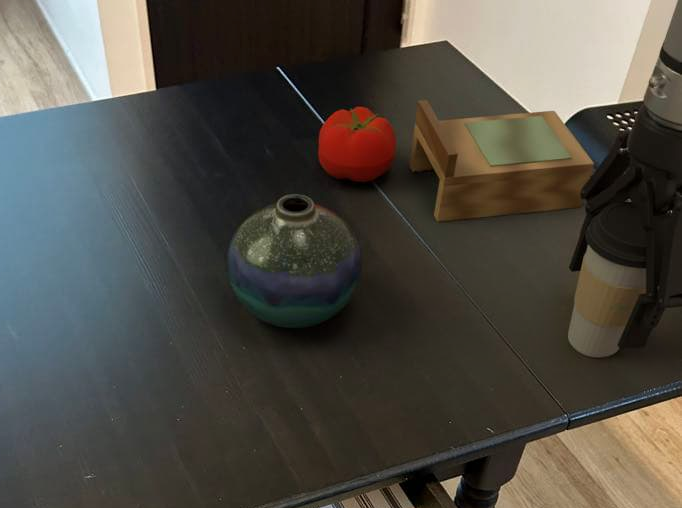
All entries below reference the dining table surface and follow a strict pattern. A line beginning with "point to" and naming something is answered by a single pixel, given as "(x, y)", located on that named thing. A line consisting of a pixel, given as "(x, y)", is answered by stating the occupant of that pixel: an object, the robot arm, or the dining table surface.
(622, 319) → the coffee cup
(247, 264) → the vase
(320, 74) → the dining table surface
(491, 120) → the wooden toy bed
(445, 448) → the dining table surface
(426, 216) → the dining table surface
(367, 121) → the tomato
